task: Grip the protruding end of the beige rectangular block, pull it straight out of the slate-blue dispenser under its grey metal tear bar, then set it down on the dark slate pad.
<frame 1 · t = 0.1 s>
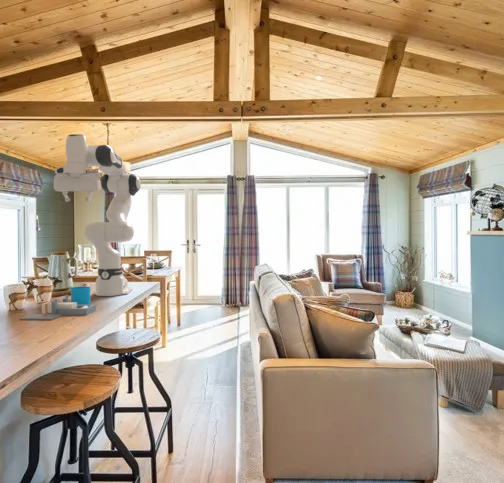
hand: (77, 201, 159), 48 cm above the worktop, fingers open, 8 cm apart
beige rectangular block: (59, 312, 151), on the worktop
dispenser: (74, 312, 151), on the worktop
pad: (41, 317, 142), on the worktop
mug: (82, 304, 167), on the worktop
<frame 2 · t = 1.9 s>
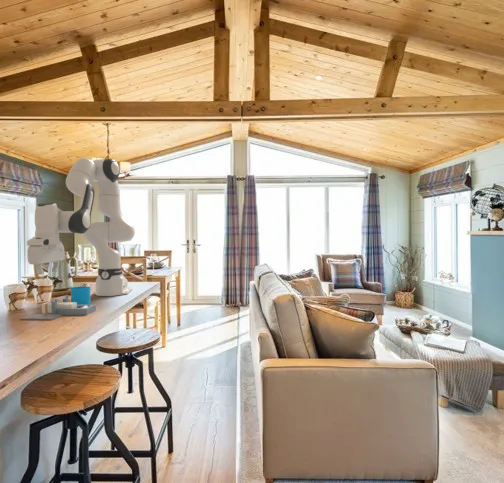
hand: (48, 273, 151), 17 cm above the worktop, fingers open, 8 cm apart
nothing on the worktop moved.
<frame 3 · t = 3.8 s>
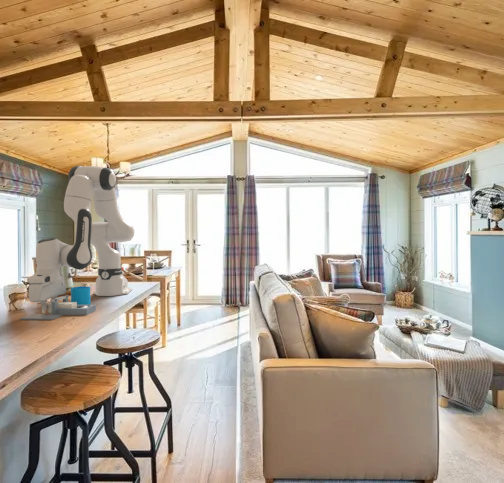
hand: (49, 308, 151), 2 cm above the worktop, fingers closed on beige rectangular block, 4 cm apart
beige rectangular block: (59, 312, 151), on the worktop, touching gripper
everything else where it was.
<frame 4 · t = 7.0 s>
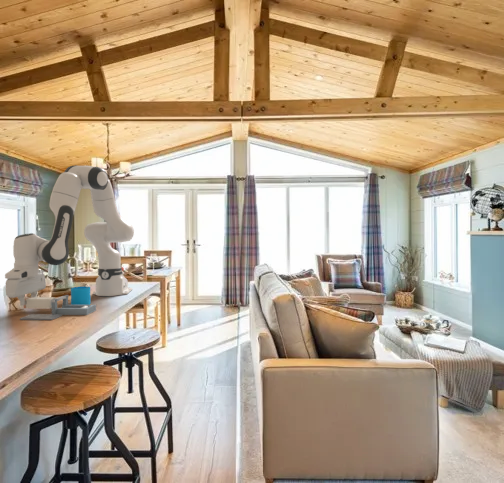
hand: (28, 303, 152), 4 cm above the worktop, fingers closed on beige rectangular block, 4 cm apart
beige rectangular block: (38, 307, 152), point 2 cm above the worktop, touching gripper
everything else where it was.
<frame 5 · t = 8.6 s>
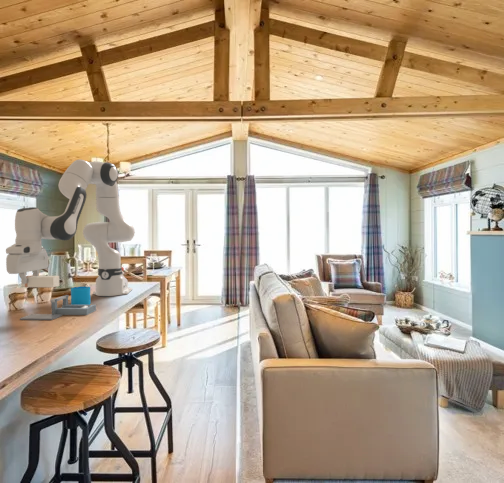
hand: (29, 282, 142), 14 cm above the worktop, fingers closed on beige rectangular block, 4 cm apart
beige rectangular block: (40, 286, 142), point 13 cm above the worktop, touching gripper
everything else where it was.
when the fingers open (3 cm above the worktop, at t = 10.1 s): beige rectangular block stays where it is, resting on pad.
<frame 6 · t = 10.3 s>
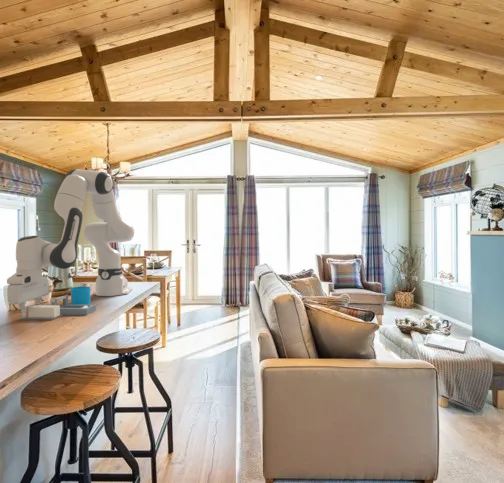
hand: (30, 310, 142), 3 cm above the worktop, fingers open, 6 cm apart
beige rectangular block: (41, 316, 142), point 1 cm above the worktop, touching pad
everything else where it was.
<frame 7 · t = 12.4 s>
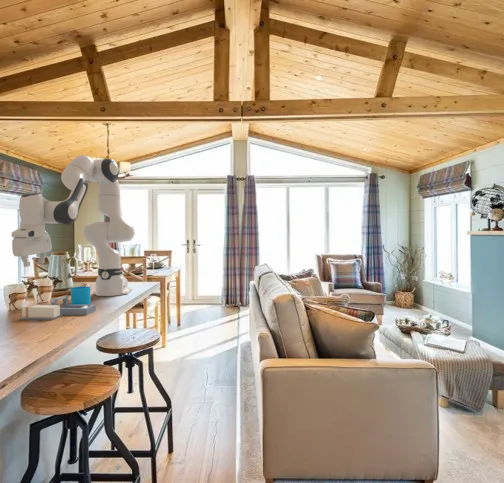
hand: (34, 264, 149), 21 cm above the worktop, fingers open, 8 cm apart
nothing on the worktop moved.
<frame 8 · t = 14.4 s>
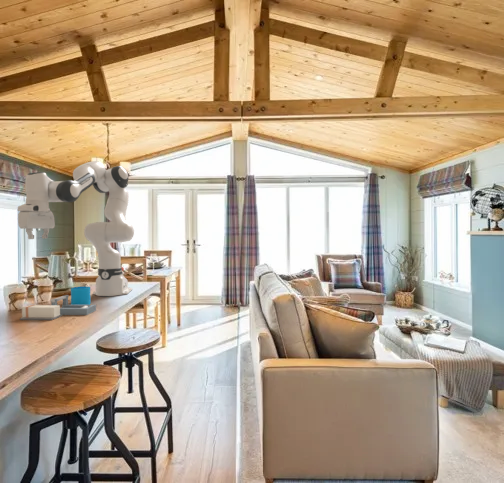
hand: (38, 238, 160), 31 cm above the worktop, fingers open, 8 cm apart
nothing on the worktop moved.
at the end: beige rectangular block inside the target area on the pad (0.1 cm from its centre), point 0.6 cm above the pad's base; beige rectangular block touching pad; the gripper is holding nothing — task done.
